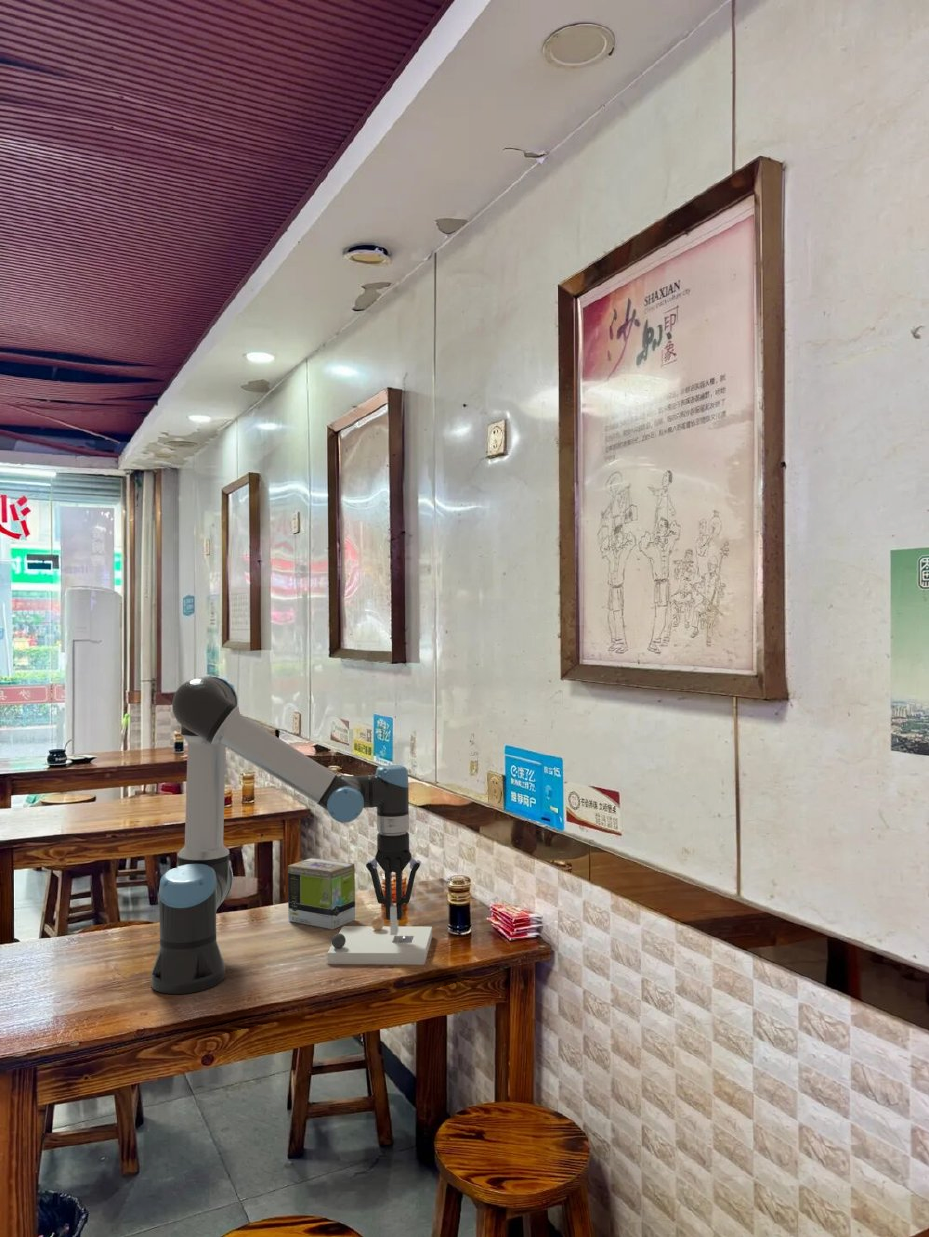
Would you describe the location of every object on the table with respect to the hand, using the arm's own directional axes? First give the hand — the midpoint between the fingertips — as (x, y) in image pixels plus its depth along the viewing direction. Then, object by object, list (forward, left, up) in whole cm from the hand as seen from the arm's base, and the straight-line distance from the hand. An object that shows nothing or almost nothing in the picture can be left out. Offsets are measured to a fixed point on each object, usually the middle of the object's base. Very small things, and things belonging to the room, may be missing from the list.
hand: (394, 933), depth 202 cm
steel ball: (+3, 0, -2) cm, 4 cm away
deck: (-3, 0, -4) cm, 5 cm away
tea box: (-22, +21, -4) cm, 31 cm away
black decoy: (-12, -6, 0) cm, 13 cm away
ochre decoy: (-5, +6, 0) cm, 8 cm away
